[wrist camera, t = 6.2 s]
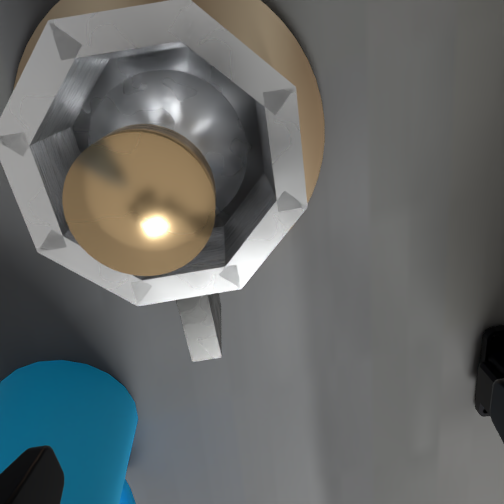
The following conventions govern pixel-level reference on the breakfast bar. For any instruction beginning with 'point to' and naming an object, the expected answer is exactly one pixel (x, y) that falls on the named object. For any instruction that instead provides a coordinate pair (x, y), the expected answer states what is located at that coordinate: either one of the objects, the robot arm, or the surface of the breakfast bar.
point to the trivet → (254, 37)
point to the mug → (71, 426)
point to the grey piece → (76, 141)
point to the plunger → (154, 172)
